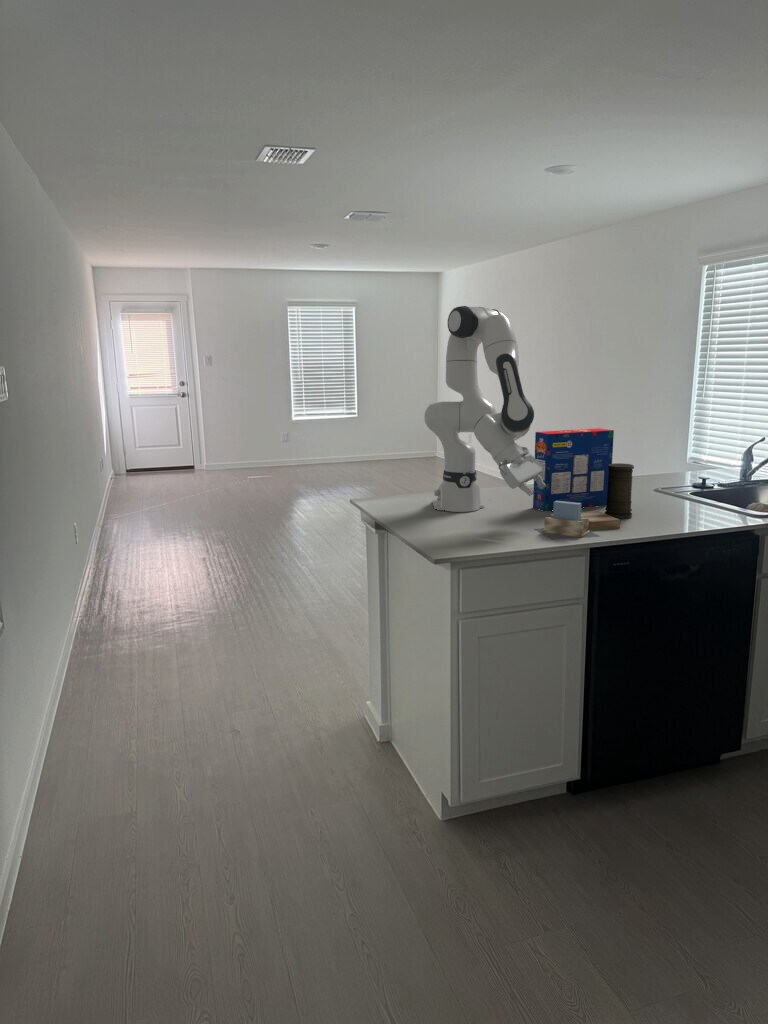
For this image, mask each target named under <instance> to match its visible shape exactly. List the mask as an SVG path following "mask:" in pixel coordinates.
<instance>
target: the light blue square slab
mask: <svg viewBox="0 0 768 1024" xmlns="http://www.w3.org/2000/svg"><path fill="white" fill-rule="evenodd" d="M581 512H582V508H581V503H575V502H565V501H555V502H554V507H553V511H552V514H553V518H557V519H565V520H574V521H581Z"/></svg>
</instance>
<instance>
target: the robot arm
mask: <svg viewBox="0 0 768 1024" xmlns="http://www.w3.org/2000/svg"><path fill="white" fill-rule="evenodd" d="M447 318H448V319H447V328H448V332H449V333H450V334H449V336H448V341H447V346H446V355H445V356H446V357H445V384H446V385H447V387H448V388H449V389H450V390H452V391H454V392H456V393H458V394H460V395H461V396H462V399H463V400H461V401H438V402H434V403H430V404H429V405H428V407H426V409H425V411H424V416H423V418H424V423H425V425H426V426H427V428H428V430H430V431H431V433H434V435H435V436H437V438H438V440H439V441H440V443H441V445H442V448H443V455H444V470H443V472H442V482H441V483H440V484H439V486H438V488H437V489H434V496H435V497H437V498H435V499H432V500H431V504H432V503H433V504H432V506H434V507H433V509H434V510H435V509H437V510H436V511H444V510H445V511H444V512H452V513H468V512H474V511H478V510H480V509H483V508H485V504H484V503H481V487H480V485H479V483H477V470H476V449H475V447H474V446H472V444H470V443H468V442H466V441H464V440H462V439H461V438H460V436H459V433H473V434H474V436H475V438H476V440H477V441H478V443H479V444H480V445H481V446H482V448H483V449H484V450H485V451H486V452H487V453H489V454H490V456H491V458H492V460H493V461H494V462H495V463H496V465H497V466H498V469H499V474H500V476H501V477H502V479H503V481H504V482H506V484H507V485H508V487H509V488H511V489H513V490H514V489H516V488H518V489H520V491H522V492H524V493H526V495H527V496H528V497H531V496H532V495H533V493H534V488H532V487H531V488H530V486H528V484H527V483H528V482H529V481H531V480H533V482H534V481H536V482H537V484H538V487H539V488H540V489H543V488H544V487H546V485H545V483H544V482H543V480H542V477H541V476H540V475H539V474H541V473H542V472H543V469H542V467H541V465H540V464H539V463H538V461H537V460H536V459H535V456H534V455H532V454H531V450H530V449H529V448H528V447H527V446H523V445H522V446H521V445H518V444H517V443H516V442H515V441H516V440H519V439H520V438H522V437H524V436H526V434H527V433H528V432H529V431H530V428H531V425H532V424H533V422H534V420H535V419H534V418H535V410H534V408H533V406H532V404H531V403H530V401H529V400H528V399H527V398H526V395H525V394H524V390H523V386H522V382H521V377H520V373H519V365H520V364H519V360H520V359H519V357H520V356H519V349H518V344H517V343H518V342H517V339H516V334H515V332H514V330H513V326H512V324H511V322H510V320H509V318H508V317H507V316H506V315H505V314H504V313H503V312H501V311H500V310H498V309H495V308H494V309H493V308H492V309H491V308H489V307H484V306H483V307H482V306H466V305H461V306H456V307H454V308H452V309H451V311H450V312H449V315H448V317H447ZM481 344H482V349H483V355H484V358H485V361H486V364H487V367H488V369H489V371H490V372H492V373H493V374H496V375H497V377H498V380H499V383H500V389H501V394H502V397H503V404H502V408H501V411H500V412H497V409H496V408H495V406H494V405H493V404H492V402H490V401H488V400H487V399H486V397H484V395H483V393H482V392H481V389H480V387H479V382H478V348H479V346H480V345H481Z"/></svg>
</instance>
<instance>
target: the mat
mask: <svg viewBox="0 0 768 1024" xmlns="http://www.w3.org/2000/svg"><path fill="white" fill-rule="evenodd" d="M533 530H534V531H535V532H538V534H539V533H540V534H541V535H543V536H544V537H547V538H548V539H550V540H552V541H553V540H564V539H565V540H566V539H567V540H568V539H582V538H598V537H600V535H599V534H597V533H594V532H593V531H592V530H590V529H588V531H590V533H589V534H587V535H586V536H584V537H575V536H567V535H560V534H552V533H544V532H542V530H544V527H541V528H540V527H539V528H533Z"/></svg>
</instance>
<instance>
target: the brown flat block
mask: <svg viewBox="0 0 768 1024" xmlns="http://www.w3.org/2000/svg"><path fill="white" fill-rule="evenodd" d="M581 518H589V524H588V530H589V531H598V530H599V531H600V530H615V529H620V528H621V519H617V518H614V517H612V516H610V515H607V514H605V512H602V511H601V510H593V511H592V510H591V511H581Z"/></svg>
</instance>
